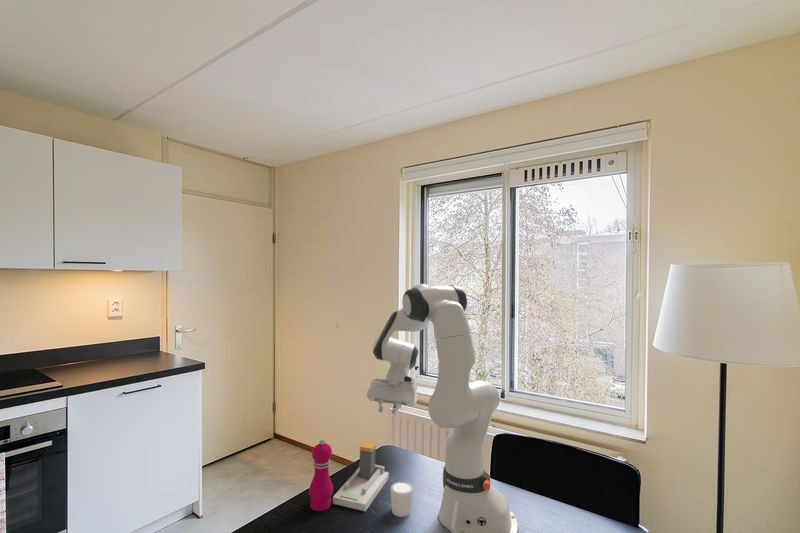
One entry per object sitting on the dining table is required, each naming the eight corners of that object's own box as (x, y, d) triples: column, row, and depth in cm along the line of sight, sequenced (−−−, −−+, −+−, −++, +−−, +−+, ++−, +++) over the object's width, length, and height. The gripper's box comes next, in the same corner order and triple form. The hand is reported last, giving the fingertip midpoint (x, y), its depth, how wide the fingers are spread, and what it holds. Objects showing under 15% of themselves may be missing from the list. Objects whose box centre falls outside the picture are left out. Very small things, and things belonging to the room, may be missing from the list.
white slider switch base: (388, 478, 133) (388, 466, 133) (365, 511, 114) (365, 497, 114) (359, 472, 137) (360, 461, 137) (332, 503, 118) (332, 490, 118)
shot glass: (413, 518, 111) (413, 494, 111) (389, 518, 111) (390, 493, 111) (412, 504, 118) (413, 481, 118) (390, 503, 118) (390, 481, 118)
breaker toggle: (375, 473, 132) (375, 443, 132) (370, 479, 128) (371, 448, 128) (364, 471, 133) (364, 441, 133) (359, 477, 129) (359, 446, 129)
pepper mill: (319, 515, 112) (321, 446, 112) (303, 506, 116) (305, 439, 116) (337, 504, 117) (339, 438, 118) (321, 495, 122) (323, 432, 122)
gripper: (370, 374, 159) (360, 405, 149) (418, 379, 152) (410, 412, 143) (374, 382, 163) (364, 413, 153) (420, 387, 156) (413, 420, 147)
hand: (387, 412), depth 148 cm, fingers open, 4 cm apart
